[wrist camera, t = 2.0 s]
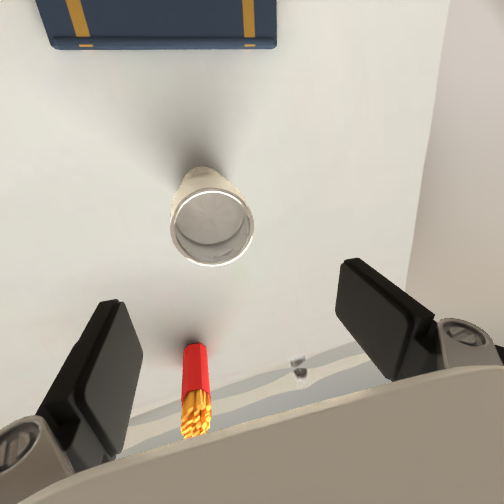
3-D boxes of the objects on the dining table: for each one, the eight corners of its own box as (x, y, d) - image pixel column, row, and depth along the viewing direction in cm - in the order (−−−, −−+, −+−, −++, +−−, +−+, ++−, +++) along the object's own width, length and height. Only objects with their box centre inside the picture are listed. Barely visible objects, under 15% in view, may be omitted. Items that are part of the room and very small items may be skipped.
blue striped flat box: (56, 51, 23) (51, 47, 22) (25, -41, 20) (17, -50, 19) (274, 50, 27) (277, 47, 26) (273, -28, 24) (276, -35, 23)
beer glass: (173, 162, 30) (160, 185, 17) (229, 162, 31) (258, 183, 18) (179, 216, 33) (172, 272, 20) (230, 214, 34) (255, 264, 21)
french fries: (208, 370, 47) (214, 446, 36) (186, 374, 46) (184, 453, 35) (205, 335, 43) (211, 408, 32) (181, 339, 42) (177, 415, 31)
